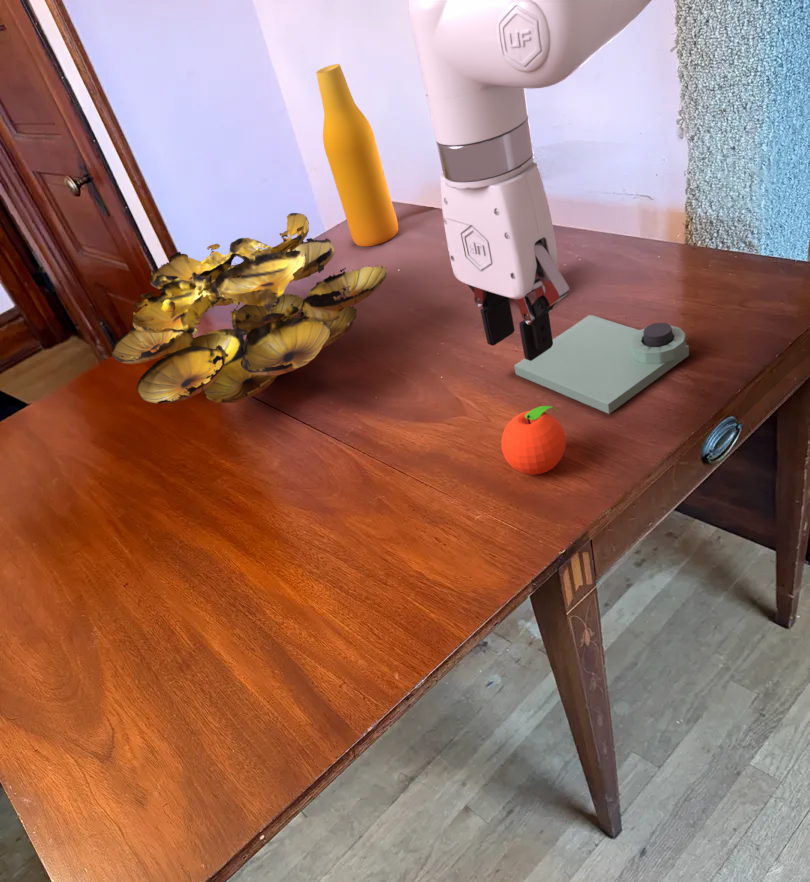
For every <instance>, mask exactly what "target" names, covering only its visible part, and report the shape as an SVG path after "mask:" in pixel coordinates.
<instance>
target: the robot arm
mask: <svg viewBox="0 0 810 882" xmlns="http://www.w3.org/2000/svg"><path fill="white" fill-rule="evenodd" d="M652 1H653V0H408V15H409V21H410V26H411V30H412V36H413V40H414V45H415V50H416V54H417V59H418V65H419V68H420V73H421V77H422V82H423V86H424V92H425V96H426V100H427V105H428V110H429V113H430V118H431V123H432V128H433V132H434V138H435V142H436V147H437V151H438V152H437V153H438V156H439V161H440V165H441V166H440V167H441V169H442V172H441V174H440V201H441V210H442V212H441V213H442V220H443V226H444V232H445V238H446V245H447V249H448V254H449V260H450V264H451V269H452V272H453V275H454V277H455V278H456V279H457V280H458V281H460V282H461V283H463V284H466V285H467V286H468V287H469V289H470V290H471V291H472V293H473V294H474V295H473V296H474V297H473V298H474V304H475V305H476V306H477V308H479V309H480V315H481V319H482V324H483V328H484V333H485V338H486V343H487V345H489V346H492V347H494V346H495V345H497V344H498V343H500V342H502V341H504V340H505V339H507V338H508V337H510V336H511V335H512V334H514V332H515V325H514V319H513V318H514V317H513V313H512V306H511V302H510V299H511V300H516V303H517V307H518V309H519V312H520V315H521V317H522V321H520V322H519V323H518V326H519V334H520V338H521V344H522V350H523V355H524V359H527V360H529V361H532V360H533V359H535V358H536V357H538V356H539V355H541V354H542V353H544V352H545V351H547V350H548V349H550V348H551V347H552V345H553V333H552V326H551V320H550V312H552V311H553V309H554V306H555V305H556V304H557V303H558V302H559V301H560V300H562V299H563V298H564V297H565V296H567V295H568V294H569V293H570V287H569V285H568V283H567V281H566V279H565V278H564V276H563V275H562V274H561V271H560V270H559V267H558V252H557V251H558V250H557V244H556V237H555V231H554V226H553V220H552V215H551V211H550V206H549V202H548V198H547V193H546V190H545V186H544V182H543V179H542V176H541V173H540V170H539V165H538V163H537V162H535V156H534V149H533V141H532V134H531V133H532V132H531V126H530V120H529V111H528V102H527V96H526V95H527V94H526V89H530V90H533V89H544V88H548V87H552V86H555V85H558V84H559V83H562V82H563V81H565V80H566V79H568V78H569V77H571V76H572V75H573V74H574V73H576V71H578V70H579V69H580V68H581V67H583V66H584V65H585V64H586V63H587V62H589V61H590V60H591V59H592V58H593V57H594V56H595V55H596V54H597V53H598V52H599V51H601V50H602V49H603V48H604V47H605V46H606V45H607V44H609V43H610V42H611V41H613V40H614V39H615V38H616V37H618V36H619V35H620V34H621V33H622V32H623V31H624V30H625V29H626V28H628V26H629V25H630V24H631V23H632V22H634V20H635V19H636V18H637V17H638V16H639V15H640V14H641V13H642V12H643V11H644V10H645V8H647V6H648V5H649V4H650V3H651V2H652ZM533 292H534V293H535V296H536V299H535V300H534V301H533V302H532V303H531V300H530V296H529V295H531V294H532V293H533Z"/></svg>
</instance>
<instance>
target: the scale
mask: <svg viewBox="0 0 810 882" xmlns="http://www.w3.org/2000/svg"><path fill="white" fill-rule="evenodd" d="M669 325H670V326H671V327H672V341H671V343H669V344H668V345H665V346H662V347H648V346H646V345H645V344H644V332H643V331H644V329H645V328H642V329H637V328H633V327H631V326H627V325H625V324H621V323H617V322H615V321H612V320H608V319H605V318H602V317H599V316H595V315H592V314H588V315H587V316H585V317H584V318H583V319H581V320H580V321H578V322H576V323H575V324H574V325H572V326H570V327H569V328H568V329H566V330H565V331H563V332H562V333H560V334H558V335H557V336H555V337H554V338H552V340H553V345H552V347H551V348H550V349H548V350H547V351H545V352H544V353H542V354H541V355H539V356H538V357H536V358H535V359H533V360H532V361H529V360H527V359H525V358H523V359H522V360H520V361H518V362H517V363H515V364H514V366H513V368H514V372H515V373H514V374H515V375H516V376H518V377H521V378H523V379H525V380H527V381H530V382H532V383H535V384H537V385H539V386H542V387H544V388H547V389H549V390H551V391H554V392H555V393H559V394H561V395H563V396H565V397H567V398H570V399H572V400H575V401H578V402H580V403H582V404H584V405H586V406H589V407H591V408H594V409H596V410H599V411H601V412H603V413H606V414H608V415H610V414H611V413H613V412H614V411H616V410H617V409H618V408H619V407H621V406H622V405H624V404H625V403H627V402H628V401H629V400H631V398H633V397H634V396H636V395H637V394H639V393H640V392H641V391H642V390H645V388H647V387H648V386H649V385H651V384H652V383H653V382H655V381H657V380H658V379H659V378H660V377H662V376H663V375H664V374H666V373H667V372H668V371H670V370H671V369H672V368H674V367H676V366H677V365H678V364H679V363H681V362H682V361H683V360H685V359H686V358H687V357H689V356H690V345H689V344H687V342H686V341H687V340H686V339H687V338H686V333H685V332H684V331H683V330H682V329H681V327H678V326H674V325H671V324H669Z"/></svg>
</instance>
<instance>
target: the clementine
mask: <svg viewBox="0 0 810 882" xmlns="http://www.w3.org/2000/svg"><path fill="white" fill-rule="evenodd" d="M549 409H554V410H555V411H556V412H557V413H558V414H559V411H558V408H556V407H554V406H552V405H540V406H537V407H535V408H532V409H531V410H526V411H523V412H521V413H519V414H517V415H515V416H514V417H512V419H511V420H509V421H508V423H506V426H505V427H504V429H503V431H502V436H501V441H500V443H501V445H500V446H501V451H502V454H503V456H504V459H505V461H506V462H507V463H508V464H509V465H510V466H511V468H513V469H514V470H515V471H517V472H519V473H521V474H525V475H528V476H529V475H531V476H535V475H541V474H545V473H547V472H549V471H552V469H554V468H555V467H556V466H557V465H558V463H559V462H560V461H561V460H562V458H563V456H564V453H565V451H566V443H567V442H566V440H567V439H566V434H565V431H564V427H563V426H562V424H561V423H560V422H559V420H558V419H557V418H556V417H554V416H553V415H551V414H549V413H548V412H546V411H548V410H549Z"/></svg>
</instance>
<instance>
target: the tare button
mask: <svg viewBox="0 0 810 882" xmlns="http://www.w3.org/2000/svg"><path fill="white" fill-rule="evenodd" d="M670 325H671V324H669V323H666V322H655V323H651V324H649V325H647V326H645V327H644V328H643V329H644V331H643V332H644V344H645V345H646V346H648V347H662V346H665V345H668V344H669V343H671V341H672V327H671V326H672V325H671V326H670Z"/></svg>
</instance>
